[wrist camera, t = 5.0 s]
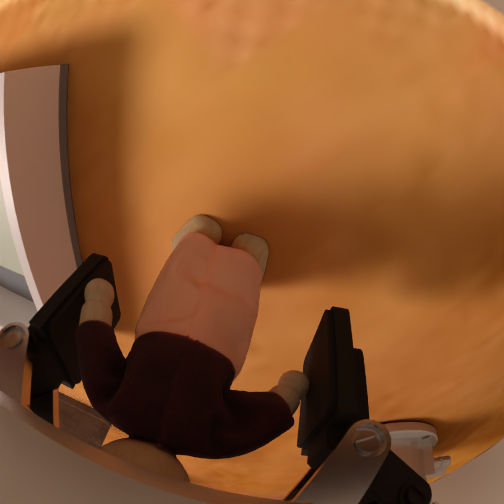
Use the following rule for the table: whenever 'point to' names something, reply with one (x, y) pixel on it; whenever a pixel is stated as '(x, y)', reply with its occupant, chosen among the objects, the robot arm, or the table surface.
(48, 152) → the shadow box frame
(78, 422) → the flask
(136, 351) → the grandmother figurine
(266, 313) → the table surface
